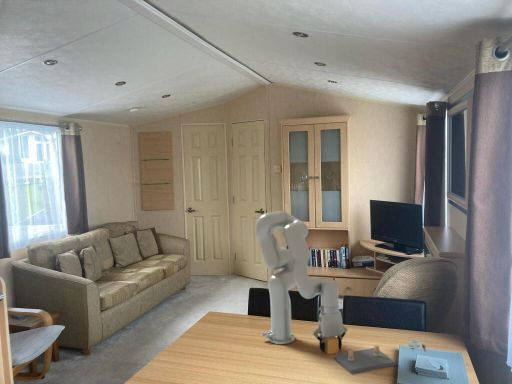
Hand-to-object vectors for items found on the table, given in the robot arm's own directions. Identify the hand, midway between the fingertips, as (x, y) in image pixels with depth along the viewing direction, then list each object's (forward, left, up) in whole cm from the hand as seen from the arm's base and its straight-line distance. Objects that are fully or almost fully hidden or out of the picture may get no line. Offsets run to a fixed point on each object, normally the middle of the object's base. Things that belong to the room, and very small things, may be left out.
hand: (330, 348), depth 178 cm
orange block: (0, 0, -1) cm, 1 cm away
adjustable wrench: (+34, -17, -1) cm, 38 cm away
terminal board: (+8, -14, -1) cm, 16 cm away
